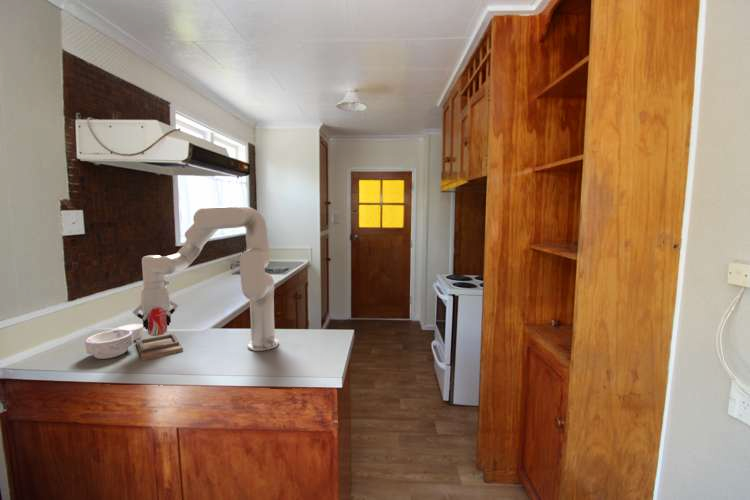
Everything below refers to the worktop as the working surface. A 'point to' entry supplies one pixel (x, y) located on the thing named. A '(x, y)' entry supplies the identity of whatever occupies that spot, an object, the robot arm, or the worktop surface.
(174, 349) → the tan board
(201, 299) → the worktop surface
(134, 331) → the ramekin
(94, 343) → the paper bowls
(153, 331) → the soda can
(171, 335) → the steel frame
